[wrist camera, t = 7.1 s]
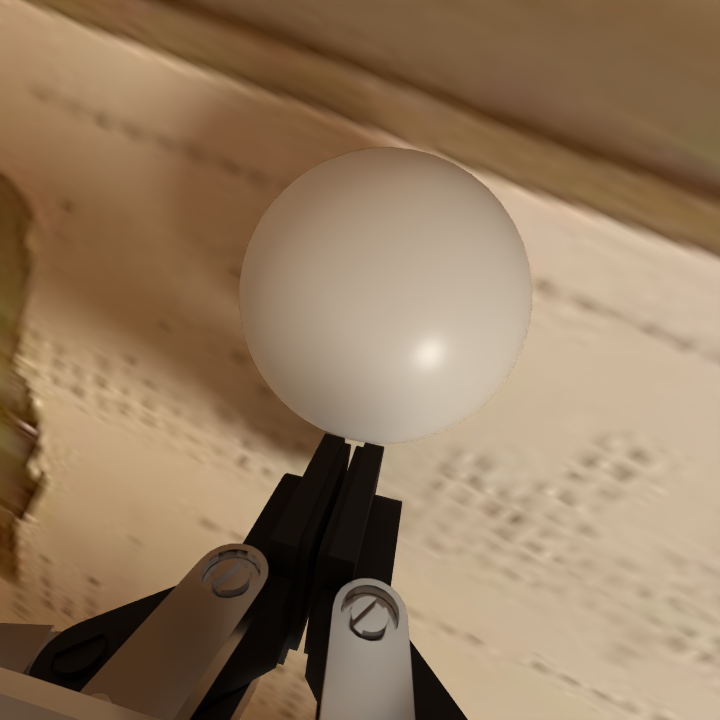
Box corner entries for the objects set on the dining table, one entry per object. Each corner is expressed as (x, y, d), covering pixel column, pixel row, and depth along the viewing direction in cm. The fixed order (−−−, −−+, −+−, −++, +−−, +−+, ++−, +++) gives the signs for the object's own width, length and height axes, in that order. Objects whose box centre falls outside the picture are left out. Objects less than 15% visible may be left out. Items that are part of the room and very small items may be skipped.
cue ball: (653, 245, 4) (555, 153, 8) (141, 147, 5) (300, 108, 9) (482, 539, 7) (476, 362, 12) (196, 463, 8) (293, 321, 12)
